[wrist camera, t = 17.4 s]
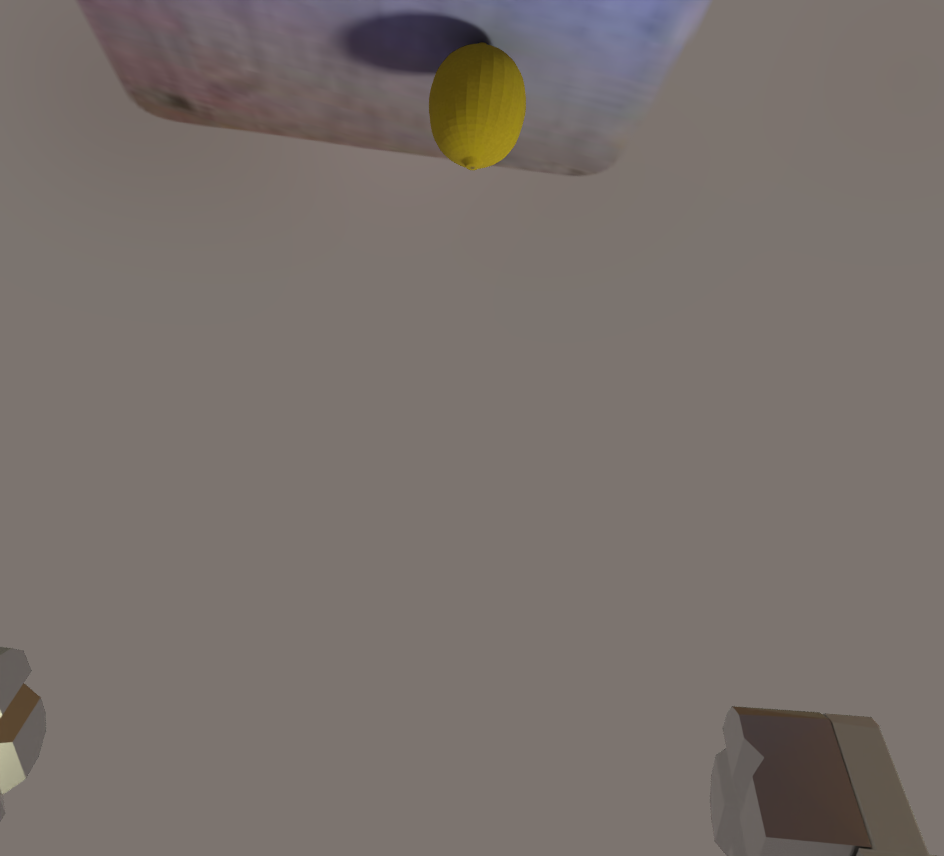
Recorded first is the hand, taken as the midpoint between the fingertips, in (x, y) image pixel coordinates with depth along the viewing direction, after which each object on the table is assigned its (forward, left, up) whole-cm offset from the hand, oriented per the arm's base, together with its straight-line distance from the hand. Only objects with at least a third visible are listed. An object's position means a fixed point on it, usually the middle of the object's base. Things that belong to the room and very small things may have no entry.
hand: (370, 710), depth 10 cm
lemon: (+30, +16, -35) cm, 49 cm away
